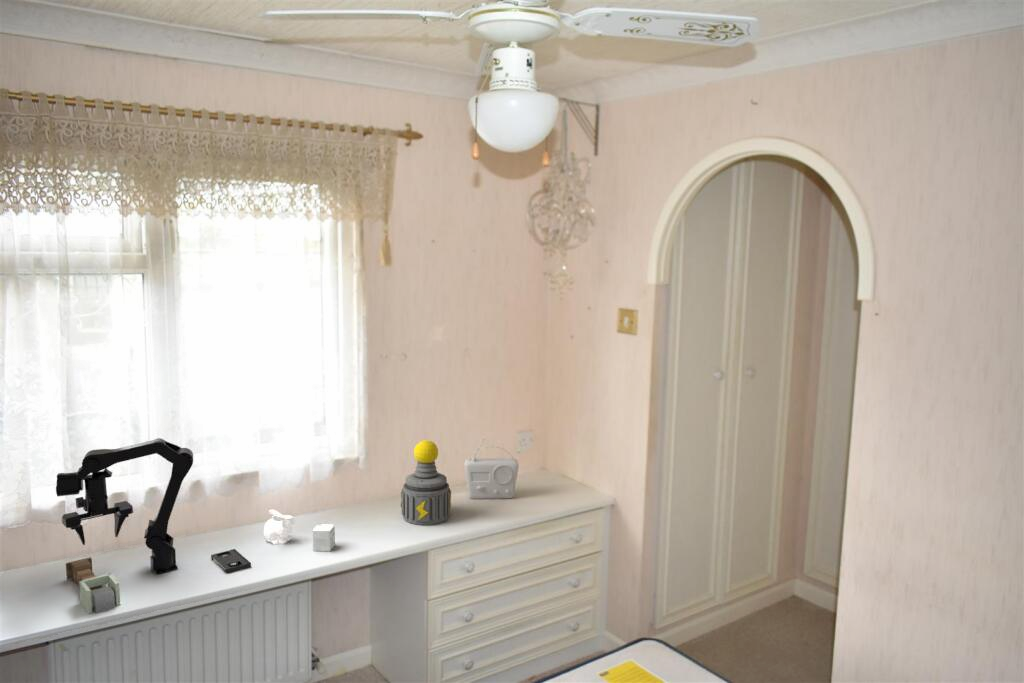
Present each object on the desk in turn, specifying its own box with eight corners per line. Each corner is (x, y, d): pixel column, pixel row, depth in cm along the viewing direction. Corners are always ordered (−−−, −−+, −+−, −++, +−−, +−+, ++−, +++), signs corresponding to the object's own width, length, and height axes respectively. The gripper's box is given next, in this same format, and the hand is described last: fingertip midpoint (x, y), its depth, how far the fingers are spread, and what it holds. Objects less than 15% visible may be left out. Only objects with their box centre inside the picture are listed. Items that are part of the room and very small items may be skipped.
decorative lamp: (405, 507, 310) (405, 433, 306) (453, 509, 309) (453, 434, 305) (396, 525, 291) (396, 446, 287) (447, 527, 291) (448, 447, 287)
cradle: (109, 591, 235) (107, 570, 235) (120, 604, 227) (119, 582, 226) (77, 599, 230) (76, 577, 229) (88, 613, 222) (86, 591, 221)
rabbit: (298, 540, 276) (297, 507, 275) (278, 549, 268) (277, 515, 266) (272, 533, 282) (271, 501, 280) (252, 542, 274) (251, 509, 272)
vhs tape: (210, 560, 260) (210, 554, 259) (234, 554, 264) (234, 548, 264) (226, 575, 249) (226, 569, 248) (251, 568, 254) (250, 562, 253)
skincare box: (330, 551, 267) (329, 531, 266) (312, 551, 267) (312, 530, 266) (335, 544, 273) (334, 524, 272) (317, 544, 273) (317, 523, 272)
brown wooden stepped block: (66, 578, 242) (65, 563, 242) (91, 572, 247) (90, 557, 246) (81, 599, 229) (80, 583, 228) (108, 592, 234) (107, 576, 233)
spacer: (109, 585, 228) (114, 591, 224) (110, 602, 229) (115, 608, 225) (90, 590, 225) (94, 596, 221) (91, 607, 226) (95, 613, 222)
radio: (464, 500, 319) (465, 440, 316) (464, 494, 327) (464, 435, 324) (518, 500, 321) (519, 440, 318) (516, 493, 329) (517, 435, 326)
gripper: (121, 479, 253) (124, 525, 256) (55, 492, 241) (59, 541, 243) (131, 487, 245) (135, 535, 247) (64, 501, 233) (68, 551, 235)
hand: (100, 540), depth 244 cm, fingers open, 9 cm apart
